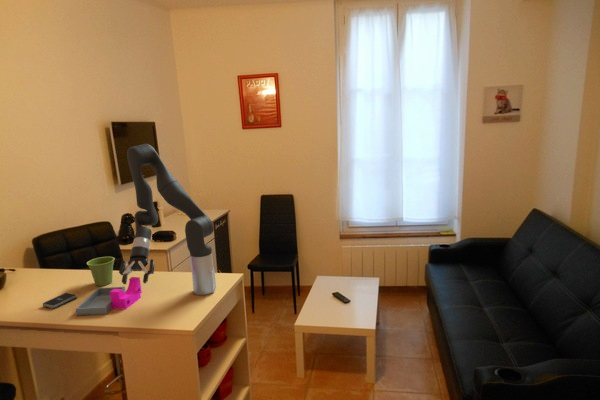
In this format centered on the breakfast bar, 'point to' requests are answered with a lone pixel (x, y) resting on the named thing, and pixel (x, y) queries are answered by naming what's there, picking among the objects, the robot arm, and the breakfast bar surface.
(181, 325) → the breakfast bar surface
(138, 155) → the robot arm
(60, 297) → the external hard drive
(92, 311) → the tray
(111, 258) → the plant pot
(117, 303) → the toy block
